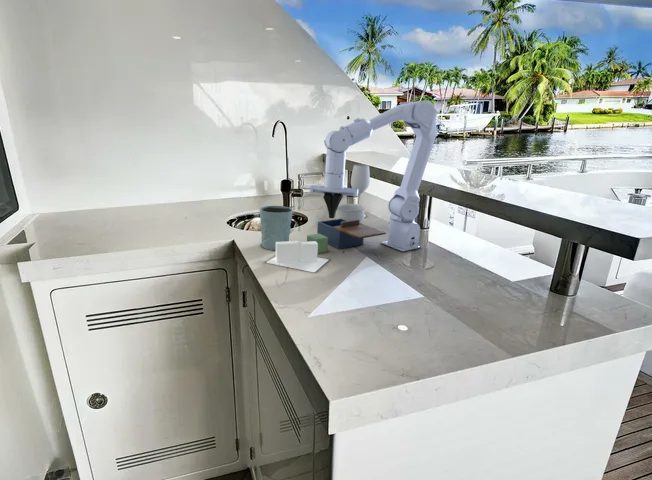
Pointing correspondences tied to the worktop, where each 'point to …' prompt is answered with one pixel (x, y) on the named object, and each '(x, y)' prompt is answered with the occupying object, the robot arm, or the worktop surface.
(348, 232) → the tin lid
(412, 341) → the worktop surface
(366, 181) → the wineglass
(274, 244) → the teal plant pot
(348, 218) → the teacup
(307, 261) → the twin cubes on base
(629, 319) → the worktop surface
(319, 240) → the block
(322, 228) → the tin
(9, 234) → the worktop surface
